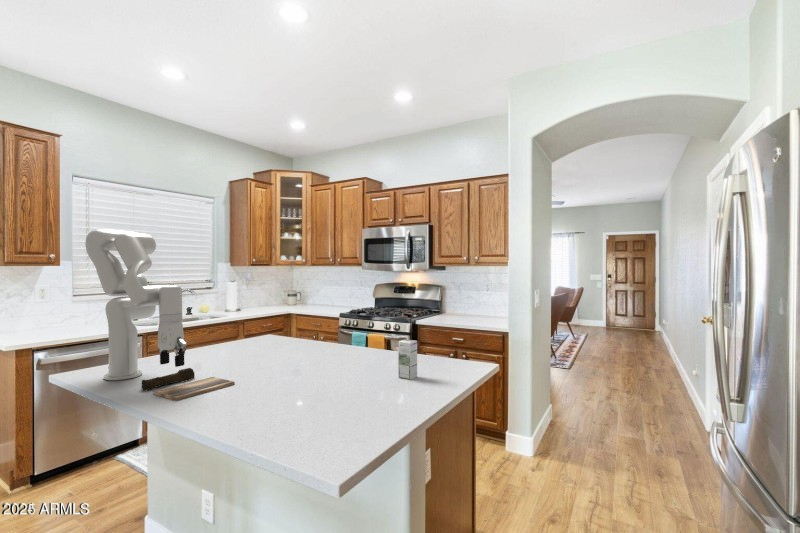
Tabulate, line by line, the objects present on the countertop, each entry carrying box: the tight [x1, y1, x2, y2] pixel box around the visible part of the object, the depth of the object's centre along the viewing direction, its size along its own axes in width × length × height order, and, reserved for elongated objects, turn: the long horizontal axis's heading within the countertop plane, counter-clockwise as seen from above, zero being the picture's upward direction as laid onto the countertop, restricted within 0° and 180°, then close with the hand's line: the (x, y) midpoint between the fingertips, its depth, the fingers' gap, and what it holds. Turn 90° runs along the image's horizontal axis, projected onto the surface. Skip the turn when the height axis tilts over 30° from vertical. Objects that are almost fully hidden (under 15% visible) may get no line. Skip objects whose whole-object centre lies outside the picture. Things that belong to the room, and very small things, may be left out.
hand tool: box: [141, 367, 195, 391], centre depth 151 cm, size 19×4×5 cm, turn 147°
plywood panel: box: [153, 376, 235, 402], centre depth 145 cm, size 13×22×1 cm, turn 149°
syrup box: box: [397, 339, 418, 380], centre depth 161 cm, size 6×6×14 cm
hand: (172, 364), depth 151 cm, fingers open, 9 cm apart
